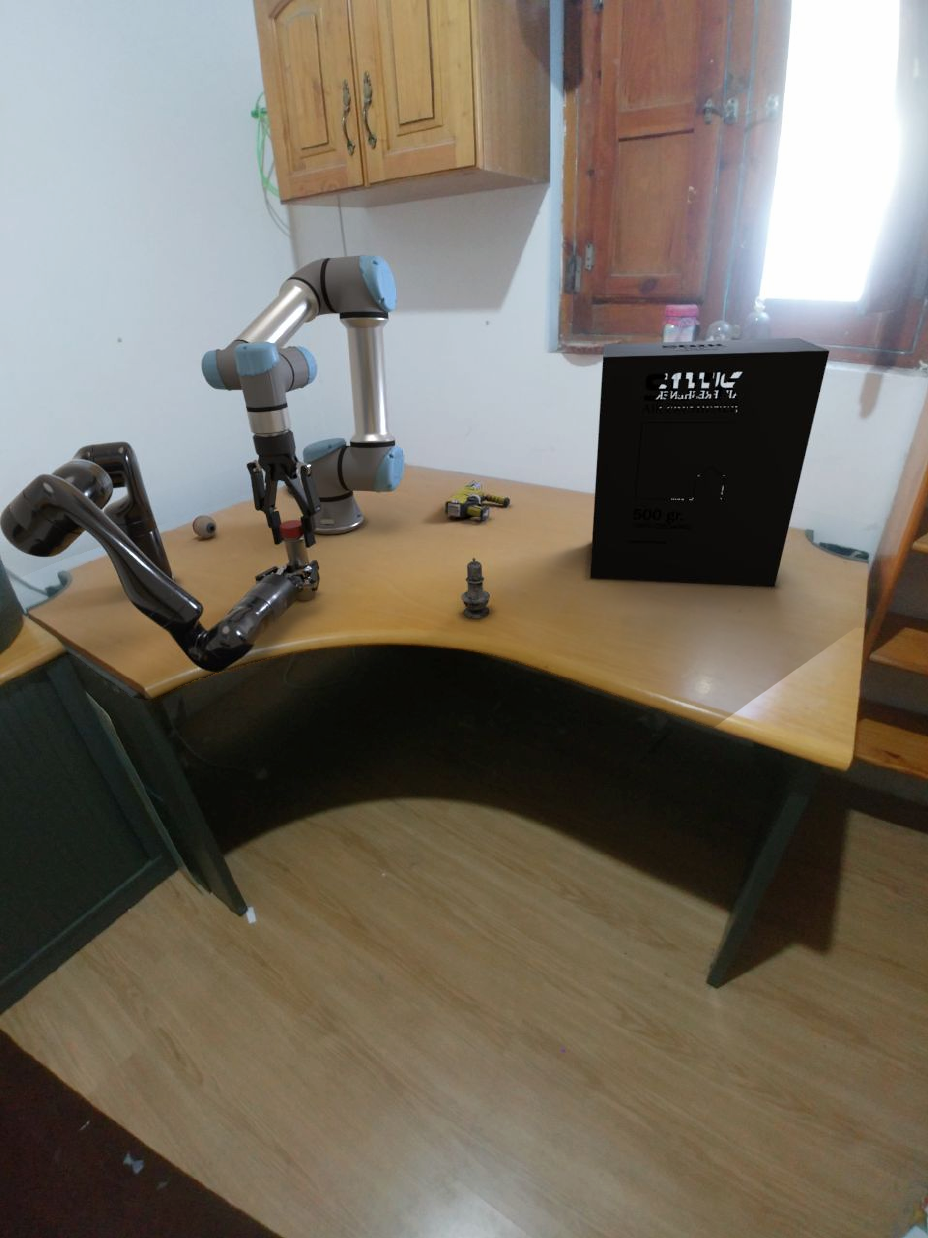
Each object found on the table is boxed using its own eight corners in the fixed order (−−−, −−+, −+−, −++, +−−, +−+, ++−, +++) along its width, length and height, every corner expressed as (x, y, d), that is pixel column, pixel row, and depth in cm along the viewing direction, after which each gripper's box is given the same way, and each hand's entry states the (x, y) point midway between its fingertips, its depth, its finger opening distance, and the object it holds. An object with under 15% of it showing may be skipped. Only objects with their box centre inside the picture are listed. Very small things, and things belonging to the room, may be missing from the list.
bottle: (302, 602, 130) (287, 533, 122) (293, 596, 133) (278, 528, 125) (319, 596, 132) (305, 528, 124) (310, 590, 135) (296, 523, 127)
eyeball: (206, 542, 163) (200, 521, 160) (191, 538, 166) (185, 518, 163) (224, 534, 167) (218, 514, 164) (209, 531, 170) (203, 510, 167)
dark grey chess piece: (488, 619, 119) (486, 564, 113) (459, 618, 120) (455, 563, 114) (493, 605, 124) (491, 551, 118) (465, 604, 125) (462, 550, 119)
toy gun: (518, 485, 181) (471, 478, 185) (495, 509, 161) (443, 500, 165) (516, 500, 184) (470, 493, 188) (494, 525, 164) (442, 517, 168)
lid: (305, 536, 123) (303, 526, 122) (281, 540, 122) (279, 529, 121) (304, 528, 128) (302, 518, 126) (281, 532, 127) (279, 521, 125)
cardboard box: (755, 547, 142) (798, 337, 120) (774, 586, 125) (829, 350, 102) (592, 542, 150) (603, 344, 127) (589, 578, 133) (603, 356, 110)
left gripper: (298, 585, 114) (333, 548, 128) (230, 581, 116) (272, 546, 131) (305, 619, 117) (339, 580, 132) (239, 615, 120) (279, 577, 135)
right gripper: (327, 428, 115) (345, 540, 126) (241, 426, 121) (265, 533, 132) (306, 437, 109) (327, 555, 120) (216, 435, 114) (244, 546, 126)
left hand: (305, 563), depth 131 cm, fingers closed on bottle, 4 cm apart
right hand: (295, 543), depth 126 cm, fingers open, 7 cm apart
